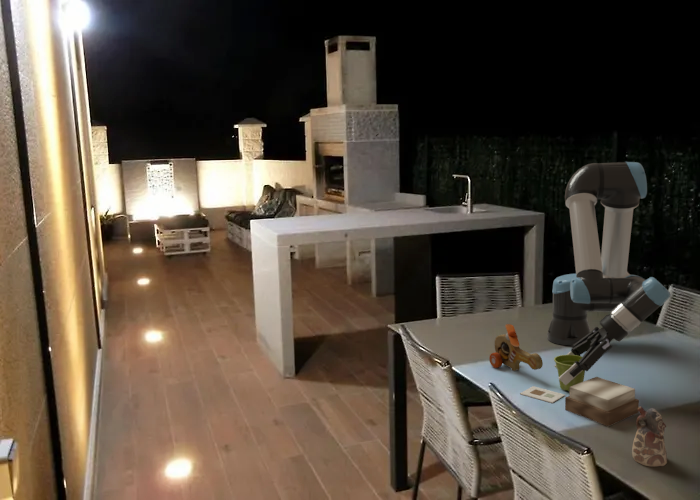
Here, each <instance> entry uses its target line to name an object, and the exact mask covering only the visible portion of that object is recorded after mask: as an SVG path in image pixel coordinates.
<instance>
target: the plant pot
mask: <svg viewBox="0 0 700 500" xmlns="http://www.w3.org/2000/svg"><path fill="white" fill-rule="evenodd" d="M582 357H583V355H582V356H577V355H567V354H561V355H557V356H555V357H554V358H553V360H554V361H553V362H555V364H556V366H557V368H556V369H557V373H558V378H559V377H560V376H561V375H562V374H563V373H564V372H566V371H567V370H568V369H569V368H570V367H571V366H572V365H573V364H575V361H578V362H579V361H580V359H581V358H582ZM585 373H586V371H585V370H584V371H582V372H581V373H579V374H578V375H577V376H576V377H575V378H574V379H572V380H571V381H570V382H569V383H568V384H567V385H565V384H564V383H563V382H561V381H560V380H559V379H558V381H559V387H560V389H561V390H563V391H568V392H569V393H570V387H571V386H573V385H576V384H579V383H581V382H584V381H585V380H584V379H585Z"/></svg>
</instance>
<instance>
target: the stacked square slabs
mask: <svg viewBox="0 0 700 500" xmlns="http://www.w3.org/2000/svg"><path fill="white" fill-rule="evenodd" d="M564 397H565V398H564V403H565V405H564V406H565V410H564V411H568V412H570V413H572V414H575V415H577V416H580V417H583V418H585V419H589V420H591V421H593V422H596V423H599V424H600V425H604V426H606V427H610V426H612V425H614V424H617V423H618V422H622V421H624V420H625V419H628V418H630V417H632V416H634V415H636V414H638V413H639V411H638V408H639V407H640V399H638V398H636V388H633V387H631V386H627V385H624V384H620V383H618V382H614V381H612V380H608V379H605V378H602V377H599V376H594V377H592V378H589V379H587V380H584V381H583V382H581V383H579V384H576V385H573V386H571V387H570V392H569V395H568V396H564ZM639 414H640V413H639Z"/></svg>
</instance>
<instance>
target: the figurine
mask: <svg viewBox="0 0 700 500" xmlns="http://www.w3.org/2000/svg"><path fill="white" fill-rule="evenodd" d="M638 411H639V415H638V416H637V418H636V421H635V425H636V429H637V430H636V433H635V436H634V439H633V442H632V449H631V456H632V458H633V460H634V461H635V462H636V463H638V464H640V465H642V466H644V467H645V466H646V467H655V468H656V467H664V466H665V465H666V464H667V463H668V458H667V455H668V454H667V453H668V452H667V450H666V444H665V443H666V442H665V437H664V435H665V430H666V428H667V425H666V423H665V422H664V420H663V417H662V415H661V413H660V412H659V411H657V410H656V408H653V407H650V408H648V409H647V411H646V409H644V407H642V406H640V405H639V408H638ZM641 421H644V424H642V423H640V422H641Z"/></svg>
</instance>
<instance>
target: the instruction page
mask: <svg viewBox="0 0 700 500" xmlns="http://www.w3.org/2000/svg"><path fill="white" fill-rule="evenodd" d="M520 395H522V396H525V397H529V398H533V399H536V400H539V401H543V402H546V403H549V404H550V403H551V404H554V403H555V402H557V401H559V399H561V398H563V397H566V394H564V393H560V392H556V391H553V390H549V389H545V388H542V387H537V386H535V385H533V386H531V387H528V388H527V389H525V390H523V391H522V392H520Z"/></svg>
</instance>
